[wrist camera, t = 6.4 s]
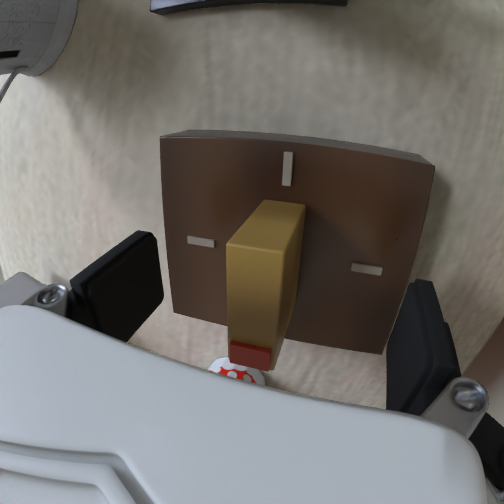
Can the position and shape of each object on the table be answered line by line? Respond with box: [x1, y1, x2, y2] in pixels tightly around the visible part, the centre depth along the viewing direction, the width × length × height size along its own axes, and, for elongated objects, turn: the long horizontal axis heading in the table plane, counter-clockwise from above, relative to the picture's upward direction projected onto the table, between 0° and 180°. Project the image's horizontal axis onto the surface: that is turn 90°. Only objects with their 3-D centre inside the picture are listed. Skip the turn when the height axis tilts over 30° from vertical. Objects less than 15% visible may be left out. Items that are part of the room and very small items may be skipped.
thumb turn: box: [226, 200, 306, 371], centre depth 12 cm, size 5×2×5 cm, turn 178°
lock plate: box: [160, 130, 435, 355], centre depth 15 cm, size 12×10×3 cm
